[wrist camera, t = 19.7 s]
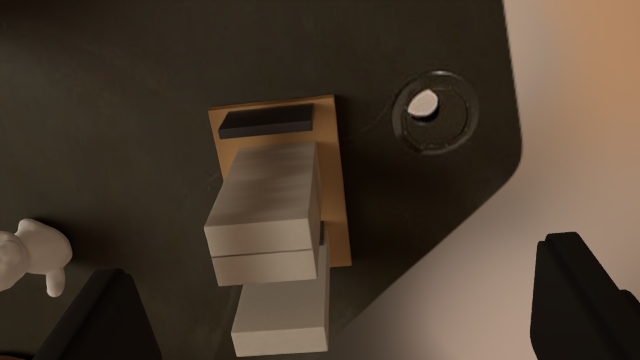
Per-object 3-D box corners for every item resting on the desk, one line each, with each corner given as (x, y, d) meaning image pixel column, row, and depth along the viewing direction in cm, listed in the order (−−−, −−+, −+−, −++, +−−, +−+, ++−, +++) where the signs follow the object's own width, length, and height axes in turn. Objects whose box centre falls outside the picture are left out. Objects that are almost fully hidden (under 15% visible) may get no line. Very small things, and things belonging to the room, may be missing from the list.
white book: (327, 229, 44) (324, 327, 34) (330, 250, 45) (327, 351, 35) (256, 235, 45) (230, 333, 34) (260, 255, 46) (236, 357, 35)
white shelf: (334, 94, 40) (332, 164, 28) (351, 259, 47) (356, 369, 35) (210, 106, 41) (159, 180, 29) (246, 267, 48) (217, 377, 36)
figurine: (17, 195, 45) (-44, 246, 38) (97, 241, 47) (55, 298, 40) (-5, 235, 47) (-66, 291, 40) (73, 278, 49) (28, 338, 42)
